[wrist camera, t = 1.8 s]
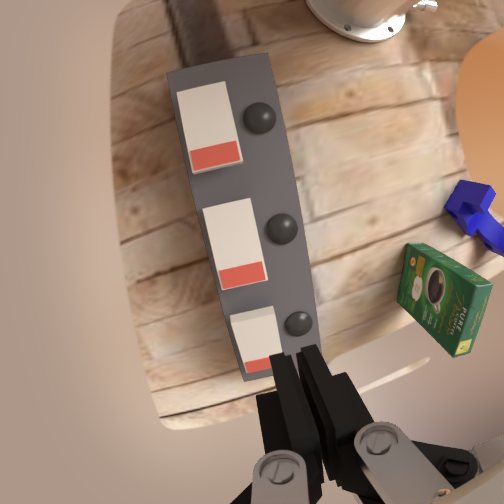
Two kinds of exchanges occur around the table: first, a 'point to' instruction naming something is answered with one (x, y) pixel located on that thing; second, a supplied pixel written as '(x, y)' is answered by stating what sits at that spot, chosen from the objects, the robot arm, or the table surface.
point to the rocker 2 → (235, 244)
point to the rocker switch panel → (257, 200)
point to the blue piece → (476, 213)
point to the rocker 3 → (256, 337)
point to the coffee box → (443, 297)
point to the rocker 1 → (209, 128)
